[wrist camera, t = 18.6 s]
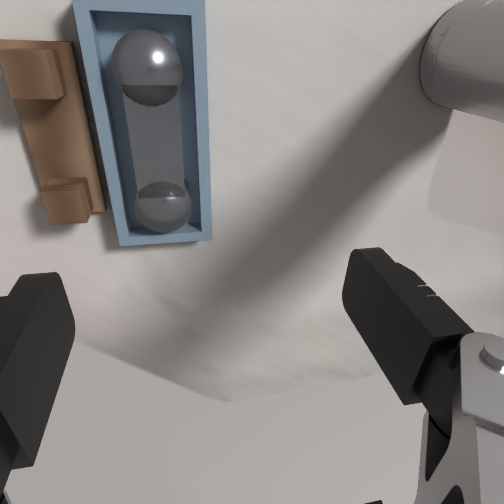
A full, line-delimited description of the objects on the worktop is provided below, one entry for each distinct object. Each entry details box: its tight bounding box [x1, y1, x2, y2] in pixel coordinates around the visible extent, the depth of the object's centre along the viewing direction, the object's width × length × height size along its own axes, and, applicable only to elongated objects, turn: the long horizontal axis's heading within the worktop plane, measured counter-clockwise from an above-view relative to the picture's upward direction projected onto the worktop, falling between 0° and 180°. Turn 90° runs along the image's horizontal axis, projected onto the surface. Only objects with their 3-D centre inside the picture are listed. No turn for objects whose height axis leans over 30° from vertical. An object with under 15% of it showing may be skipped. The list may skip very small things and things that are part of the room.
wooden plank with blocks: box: [0, 39, 107, 225], centre depth 28 cm, size 5×14×4 cm, turn 178°
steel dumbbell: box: [111, 29, 192, 233], centre depth 30 cm, size 5×16×4 cm, turn 178°
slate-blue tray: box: [72, 0, 212, 246], centre depth 30 cm, size 9×20×2 cm, turn 178°
